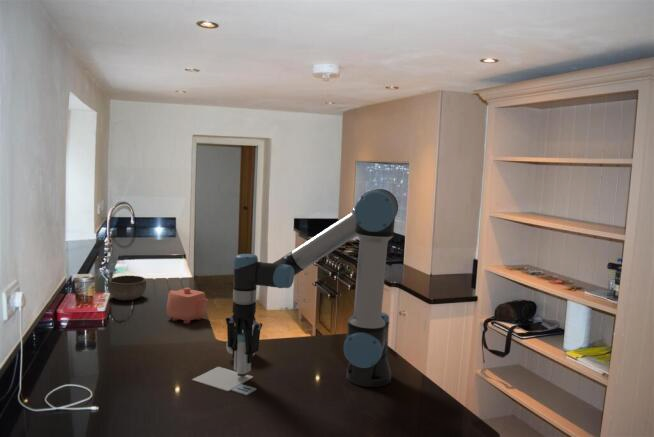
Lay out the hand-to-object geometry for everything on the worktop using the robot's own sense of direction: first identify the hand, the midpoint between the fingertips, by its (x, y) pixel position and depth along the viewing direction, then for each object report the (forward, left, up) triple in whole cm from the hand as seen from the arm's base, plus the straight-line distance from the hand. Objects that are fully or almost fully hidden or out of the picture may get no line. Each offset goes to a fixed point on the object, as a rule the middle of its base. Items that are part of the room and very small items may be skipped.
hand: (242, 370), depth 175 cm
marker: (0, 0, -2) cm, 2 cm away
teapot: (+59, -37, -3) cm, 70 cm away
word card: (-6, +7, -3) cm, 10 cm away
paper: (+5, +4, -3) cm, 7 cm away
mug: (+13, -15, -3) cm, 20 cm away
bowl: (+107, -44, -3) cm, 116 cm away
